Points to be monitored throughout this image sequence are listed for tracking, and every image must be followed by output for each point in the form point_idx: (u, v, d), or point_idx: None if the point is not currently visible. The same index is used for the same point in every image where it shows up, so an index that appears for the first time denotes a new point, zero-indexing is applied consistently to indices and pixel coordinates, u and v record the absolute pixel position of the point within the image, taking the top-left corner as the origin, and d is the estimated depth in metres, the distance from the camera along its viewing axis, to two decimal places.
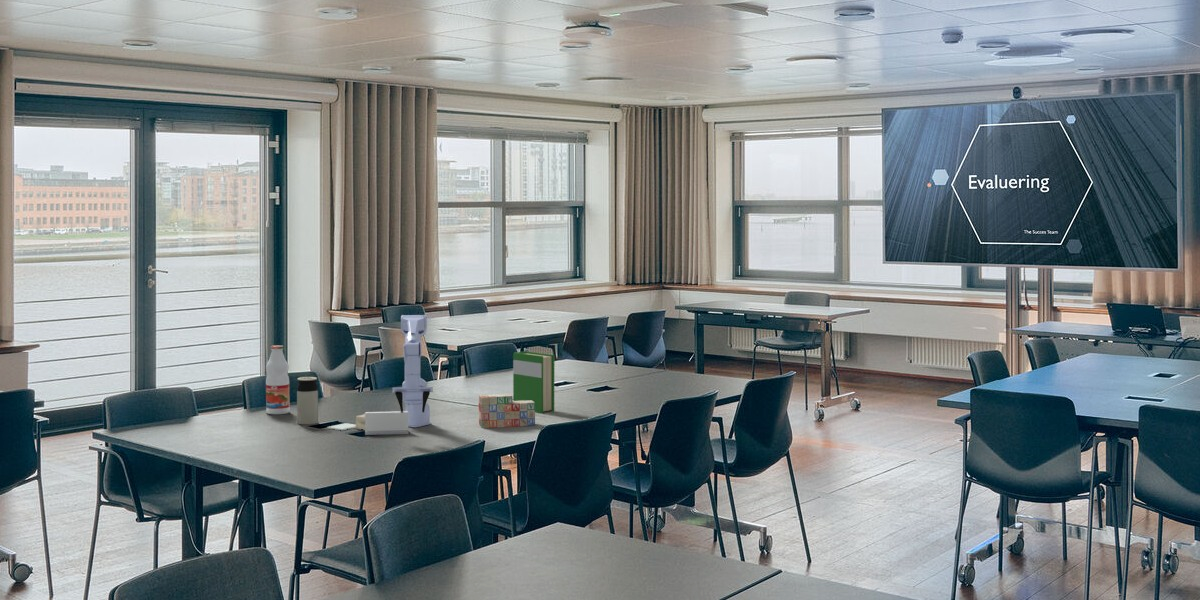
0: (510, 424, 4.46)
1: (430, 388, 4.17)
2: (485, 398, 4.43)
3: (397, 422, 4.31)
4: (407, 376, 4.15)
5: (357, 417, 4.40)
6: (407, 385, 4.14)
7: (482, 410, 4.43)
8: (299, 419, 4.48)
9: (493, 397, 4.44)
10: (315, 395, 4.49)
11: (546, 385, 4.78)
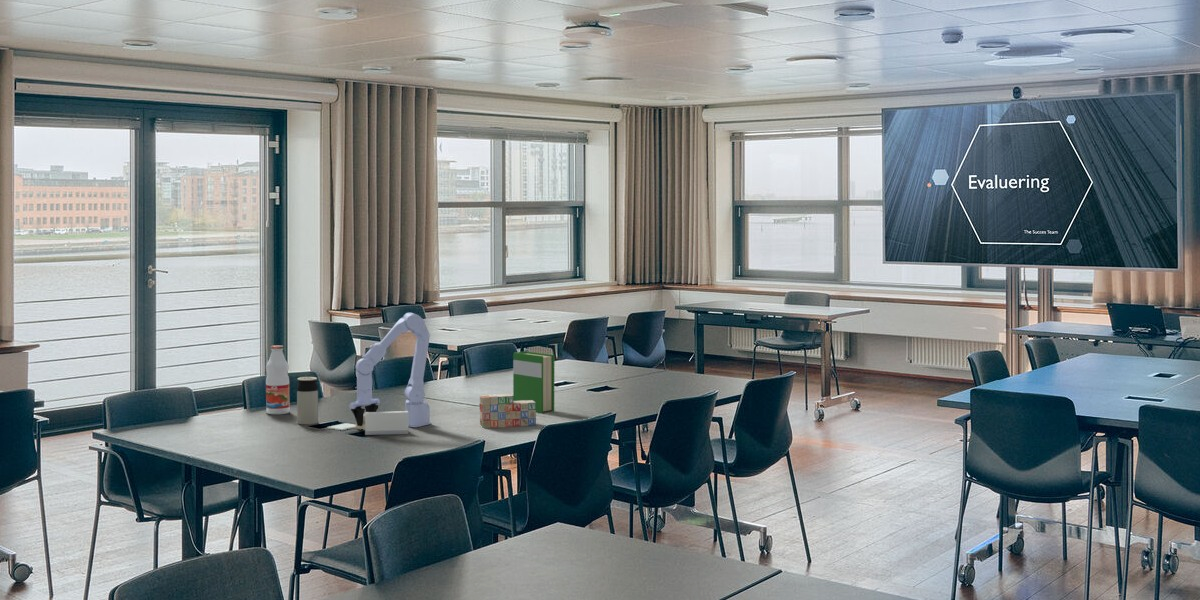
0: (511, 424, 4.47)
1: None
2: (486, 398, 4.43)
3: (397, 422, 4.31)
4: None
5: None
6: None
7: (483, 410, 4.43)
8: (299, 419, 4.48)
9: (494, 397, 4.44)
10: (315, 395, 4.49)
11: (546, 385, 4.78)
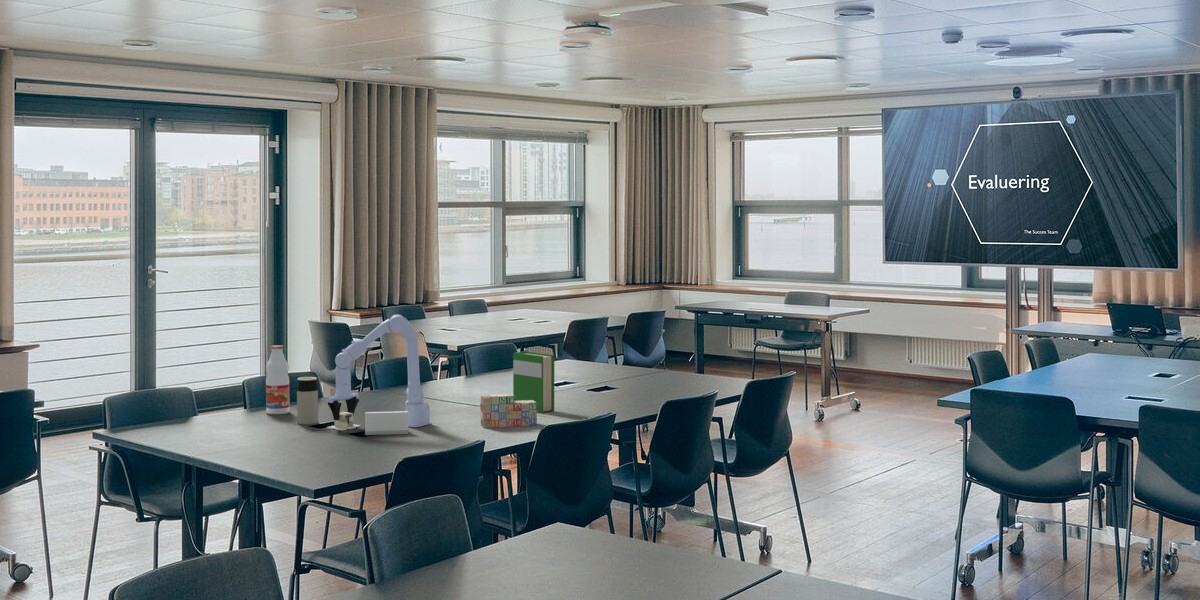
0: (512, 424, 4.47)
1: None
2: (487, 398, 4.43)
3: (397, 422, 4.31)
4: None
5: None
6: None
7: (484, 410, 4.43)
8: (299, 419, 4.48)
9: (495, 397, 4.44)
10: (315, 395, 4.49)
11: (546, 385, 4.78)
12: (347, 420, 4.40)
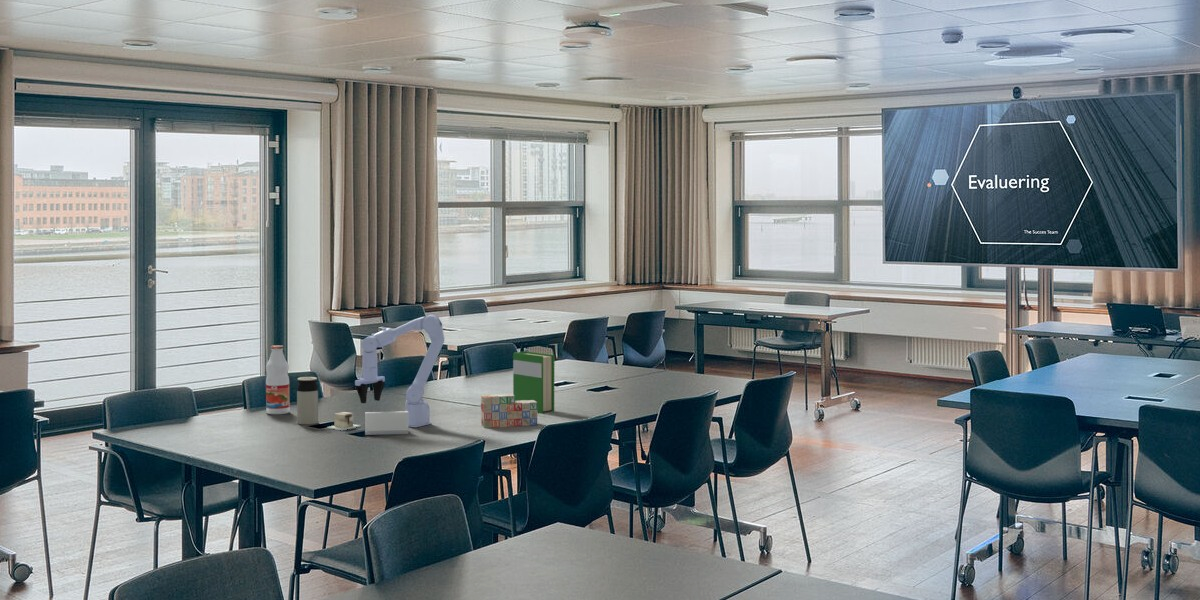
0: (512, 424, 4.47)
1: None
2: (488, 398, 4.43)
3: (397, 422, 4.31)
4: None
5: (336, 415, 4.41)
6: None
7: (485, 410, 4.43)
8: (299, 419, 4.48)
9: (496, 397, 4.44)
10: (315, 395, 4.49)
11: (546, 385, 4.78)
12: (347, 420, 4.40)
